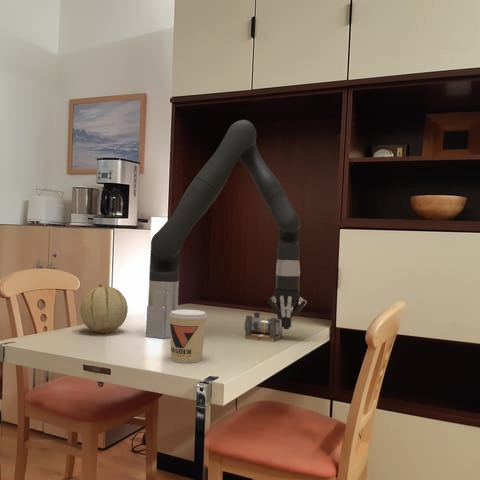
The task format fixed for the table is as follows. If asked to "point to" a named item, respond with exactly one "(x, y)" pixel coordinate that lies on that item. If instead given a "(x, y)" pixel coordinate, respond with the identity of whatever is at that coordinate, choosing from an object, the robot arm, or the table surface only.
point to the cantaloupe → (103, 309)
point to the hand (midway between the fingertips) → (286, 328)
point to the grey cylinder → (264, 325)
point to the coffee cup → (187, 335)
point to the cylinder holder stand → (258, 336)
